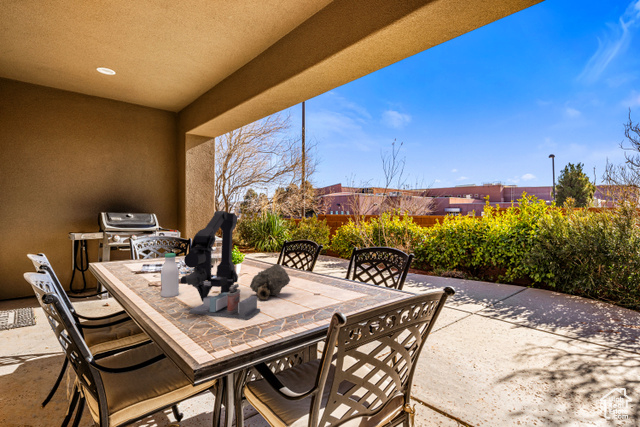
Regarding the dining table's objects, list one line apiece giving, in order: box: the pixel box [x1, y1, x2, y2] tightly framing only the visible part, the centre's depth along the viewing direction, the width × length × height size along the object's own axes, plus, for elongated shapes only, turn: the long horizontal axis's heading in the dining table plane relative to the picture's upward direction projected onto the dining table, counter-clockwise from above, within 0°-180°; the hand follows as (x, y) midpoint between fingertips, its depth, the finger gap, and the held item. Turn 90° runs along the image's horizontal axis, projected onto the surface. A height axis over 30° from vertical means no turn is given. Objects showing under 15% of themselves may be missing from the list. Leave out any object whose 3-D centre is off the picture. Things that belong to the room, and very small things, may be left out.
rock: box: [249, 263, 291, 301], centre depth 147 cm, size 18×14×15 cm
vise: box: [188, 295, 261, 321], centre depth 124 cm, size 10×26×6 cm, turn 75°
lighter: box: [227, 283, 241, 314], centre depth 123 cm, size 8×3×10 cm, turn 169°
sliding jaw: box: [202, 292, 228, 312], centre depth 125 cm, size 10×8×5 cm
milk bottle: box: [160, 252, 180, 298], centre depth 148 cm, size 8×8×20 cm
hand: (203, 301), depth 126 cm, fingers closed
